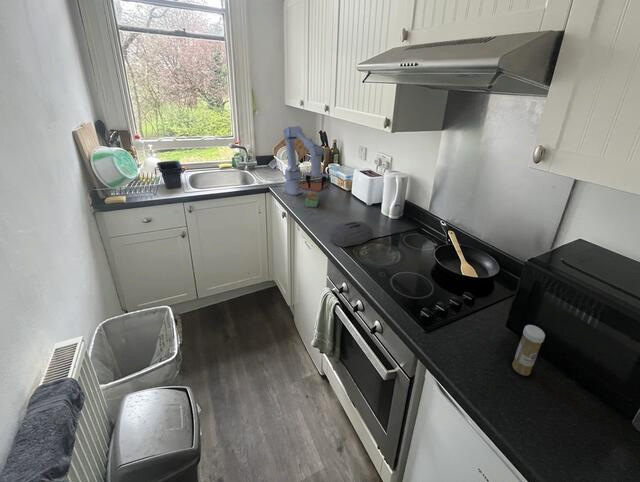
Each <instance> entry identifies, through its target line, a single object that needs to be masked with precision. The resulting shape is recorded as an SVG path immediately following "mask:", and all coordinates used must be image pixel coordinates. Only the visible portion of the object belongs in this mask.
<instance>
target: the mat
mask: <svg viewBox="0 0 640 482" xmlns="http://www.w3.org/2000/svg"><path fill="white" fill-rule="evenodd" d="M310 185H311V186H310V188H309V186H308V183H307V182H305V183H303V184H302V185H299V189H304V190H309V191H313V192H316V193H317V192H320V191H322V190H323V189H325V188H327V187H328V185H326V184H324V185H323V189H321V186H322V183H321V184H320V183H317V182H311V181H310Z"/></svg>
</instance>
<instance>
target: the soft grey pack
mask: <svg viewBox="0 0 640 482" xmlns="http://www.w3.org/2000/svg"><path fill="white" fill-rule="evenodd" d="M373 235H374V234H373V229H372V227H371V226H370V225H368V224H367V223H365V222H363V221H361V220H360V221H348V222H342V223H340V224H337V225H336V226H334V227H333V228H332V230H331V232H330V237H331V241H332V243H333V244H334V245H337V246H338V247H342V248H345V247H355V246H359V245H362V244H364V243H367V242H368V241H370V240H371V239H372V238H373Z"/></svg>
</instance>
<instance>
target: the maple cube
mask: <svg viewBox="0 0 640 482" xmlns="http://www.w3.org/2000/svg"><path fill="white" fill-rule="evenodd" d="M307 196H308V200H315V198H316V197H317V191H313V190H309V191H308V193H307Z"/></svg>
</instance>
